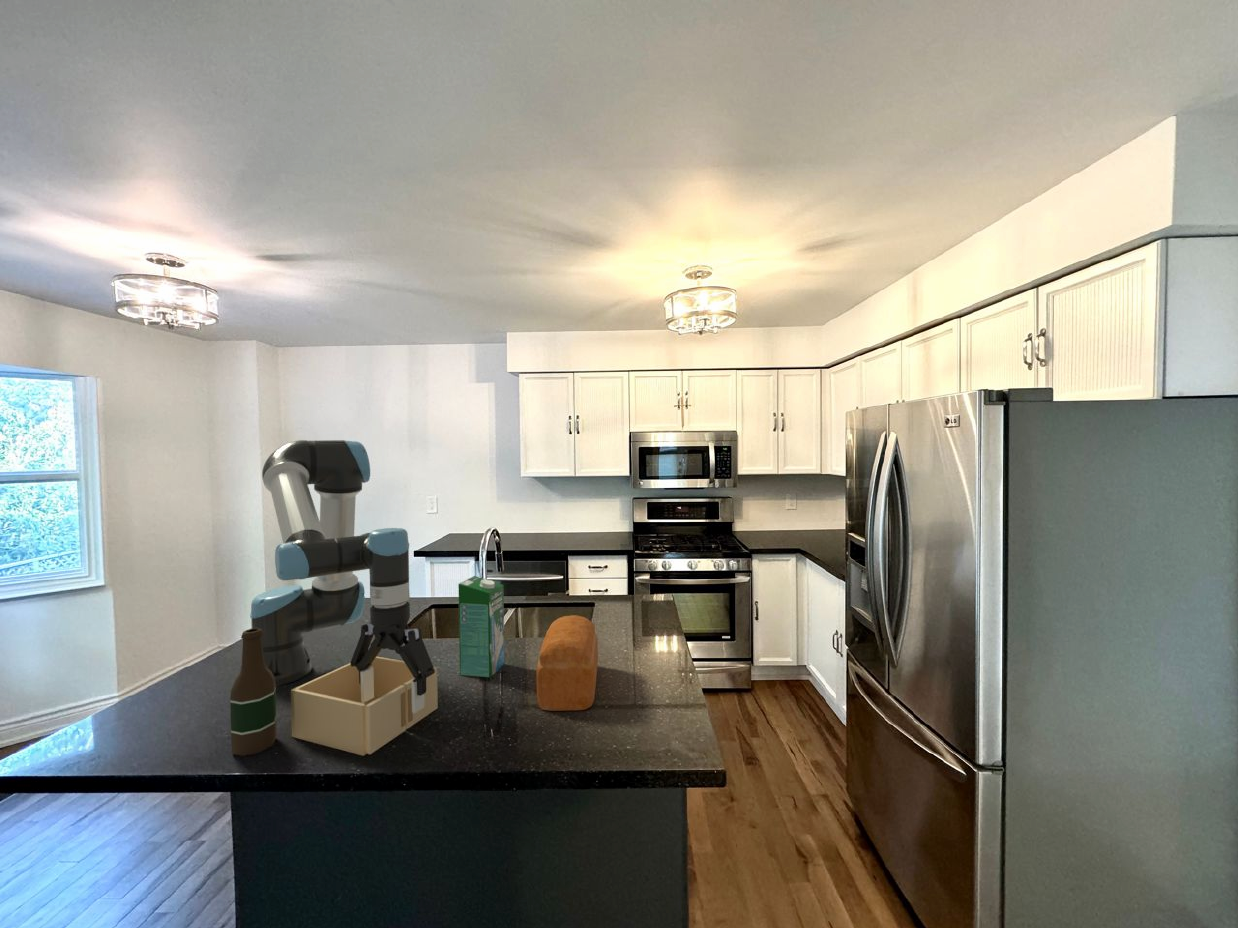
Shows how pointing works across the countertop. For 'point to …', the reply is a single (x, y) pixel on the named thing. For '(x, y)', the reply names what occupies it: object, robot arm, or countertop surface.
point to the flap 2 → (429, 700)
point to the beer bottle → (253, 700)
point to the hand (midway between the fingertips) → (392, 704)
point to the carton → (341, 704)
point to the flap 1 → (385, 719)
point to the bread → (568, 665)
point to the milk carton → (481, 627)
